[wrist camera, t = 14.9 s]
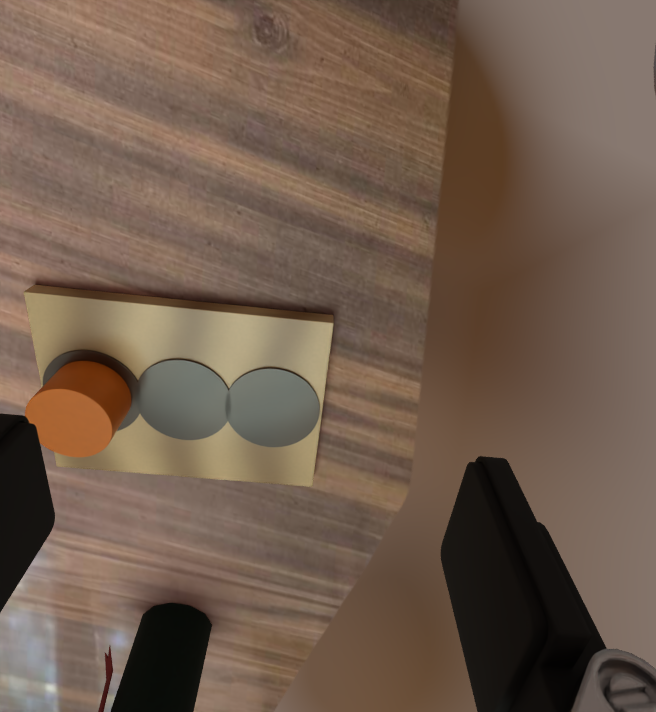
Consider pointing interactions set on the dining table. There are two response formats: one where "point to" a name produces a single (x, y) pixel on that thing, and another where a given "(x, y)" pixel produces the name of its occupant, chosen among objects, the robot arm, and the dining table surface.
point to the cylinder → (79, 408)
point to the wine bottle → (162, 662)
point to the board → (194, 381)
